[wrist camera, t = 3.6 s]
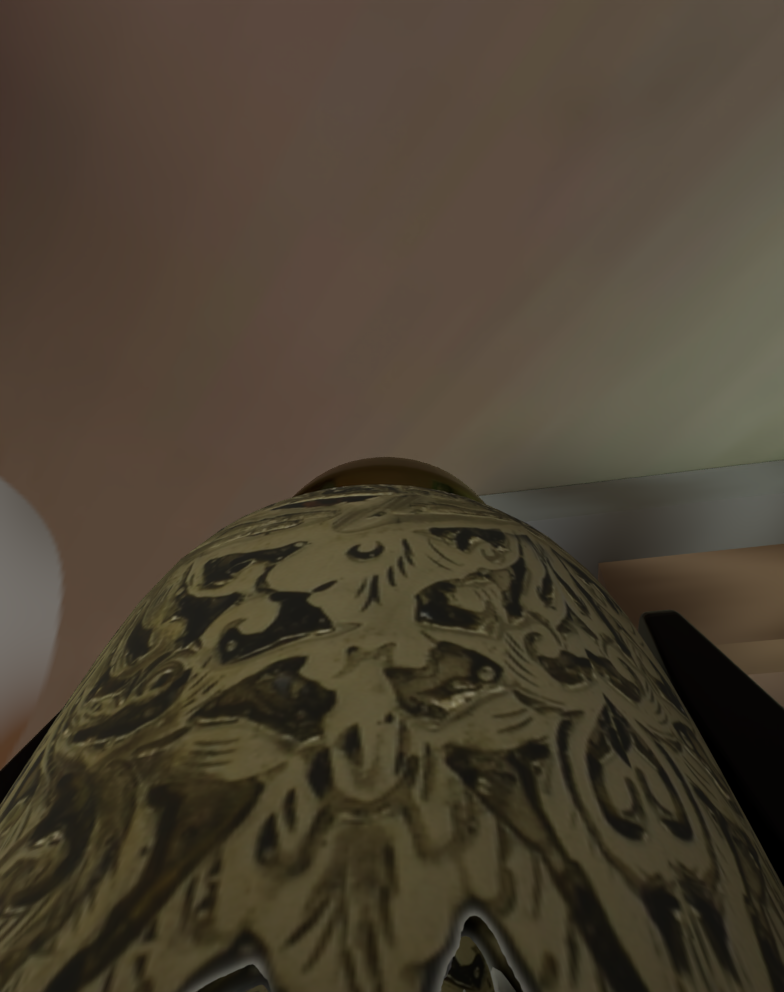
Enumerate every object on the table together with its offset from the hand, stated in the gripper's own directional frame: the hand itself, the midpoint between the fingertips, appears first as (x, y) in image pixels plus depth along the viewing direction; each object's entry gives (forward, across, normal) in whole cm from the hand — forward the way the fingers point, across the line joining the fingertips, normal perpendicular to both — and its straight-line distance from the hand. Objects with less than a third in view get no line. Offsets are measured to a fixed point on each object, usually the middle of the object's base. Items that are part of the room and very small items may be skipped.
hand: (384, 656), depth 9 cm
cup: (+3, 0, 0) cm, 3 cm away
